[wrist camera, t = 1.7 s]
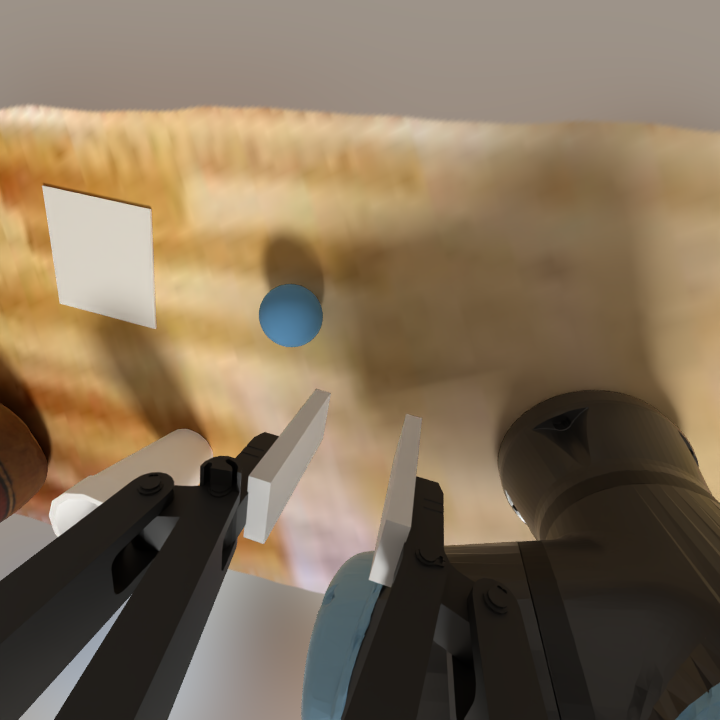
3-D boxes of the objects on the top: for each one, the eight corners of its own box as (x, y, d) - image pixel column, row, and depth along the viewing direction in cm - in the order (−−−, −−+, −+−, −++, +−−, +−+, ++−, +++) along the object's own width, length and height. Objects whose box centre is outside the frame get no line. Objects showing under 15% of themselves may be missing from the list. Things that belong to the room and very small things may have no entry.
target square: (151, 209, 33) (149, 209, 33) (156, 328, 38) (155, 328, 38) (44, 185, 35) (42, 185, 35) (61, 302, 39) (59, 303, 39)
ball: (334, 287, 32) (314, 298, 27) (325, 342, 34) (305, 362, 29) (278, 274, 33) (248, 282, 28) (273, 329, 35) (245, 346, 30)
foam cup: (143, 425, 43) (30, 500, 32) (201, 409, 40) (101, 484, 29) (180, 487, 46) (88, 579, 34) (237, 476, 43) (159, 571, 31)
